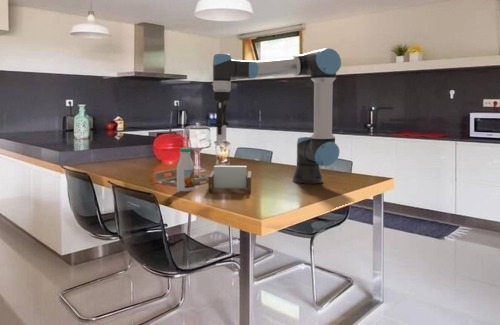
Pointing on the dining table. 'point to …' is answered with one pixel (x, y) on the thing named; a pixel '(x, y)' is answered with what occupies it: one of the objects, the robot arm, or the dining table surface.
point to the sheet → (230, 176)
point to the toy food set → (173, 178)
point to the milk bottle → (185, 171)
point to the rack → (229, 190)
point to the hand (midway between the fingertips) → (221, 141)
